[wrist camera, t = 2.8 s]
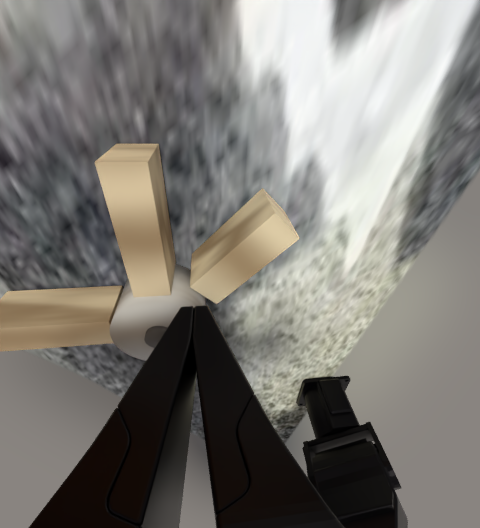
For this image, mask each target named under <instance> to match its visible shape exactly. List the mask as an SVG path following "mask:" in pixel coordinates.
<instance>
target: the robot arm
mask: <svg viewBox="0 0 480 528" xmlns="http://www.w3.org/2000/svg"><path fill="white" fill-rule="evenodd" d="M196 373H197V380H198V388H199V396H200V404H201V412H202V419H203V427H204V435H205V443H206V450H207V458H208V466H209V474H210V481H211V489H212V497H213V505H214V511H215V512H214V513H215V520H216V528H407V525H408V524H407V523H408V522H407V517H406V514H405V512H404V510H403V508H402V506H401V503H400V501H399V499H398V497H397V495H396V492H395V490H397V489H400V488H401V486H400V484H399V481H398V479H397V477H396V475H395V473H394V471H393V468H392V466H391V464H390V462H389V460H388V458H387V456H386V454H385V452H384V450H383V448H382V445H381V443H380V441H379V440H378V437H377V435H376V433H375V431H374V429H373V427H372V425H371V423H370V422H367V423H366V424H364V425H359V423H358V421H357V418H356V416H355V414H354V411H353V409H352V407H351V405H350V402H349V400H348V398H347V395H346V393H345V390H346V388H347V386H348V384H349V382H350V378H349V376H341V377H329V378H319V379H308V380H305V381H304V382H303V385H302V388H301V391H300V394H299V397H298V400H297V404H298V406H306V408H307V411H308V414H309V417H310V421H311V424H312V427H313V430H314V434H315V437H316V439H315V440H311V441H305V442H303V444H304V447H303V452H304V455H305V460H306V464H307V473H308V477H307V476H306V474H305V473H304V472H303V470H302V469H301V467H300V466H299V464H298V463H297V462H296V460H295V459H294V457H293V456H292V454H291V453H290V452H289V450H288V449H287V447H286V446H285V444H284V442H283V441H282V439H281V438H280V436H279V435H278V433H277V432H276V430H275V429H274V427H273V426H272V424H271V422H270V420H269V419H268V417H267V415H266V413H265V412H264V410H263V408H262V406H261V404H260V403H259V401H258V399H257V397H256V395H254V392H253V390H252V388H251V386H250V384H249V382H248V380H247V378H246V377H245V375H244V373H243V371H242V369H241V367H240V365H239V363H238V362H237V360H236V358H235V356H234V354H233V352H232V350H231V348H230V347H229V345H228V343H227V341H226V339H225V337H224V335H223V333H222V331H221V330H220V328H219V326H218V324H217V322H216V320H215V318H214V316H213V315H212V313H211V311H210V309H209V307H208V306H207V305H201V306H195V308H194V307H193V306H185V307H181V308H180V309H179V310H178V312H177V314H176V315H175V317H174V318H173V320H172V321H171V323H170V325H169V326H168V328H167V329H166V331H165V332H164V334H163V335H162V337H161V339H160V340H159V342H158V343H157V345H156V346H155V348H154V350H153V351H152V353H151V354H150V356H149V357H148V359H147V360H146V362H145V364H144V365H143V367H142V368H141V370H140V371H139V373H138V375H137V376H136V378H135V379H134V381H133V382H132V384H131V385H130V387H129V389H128V390H127V392H126V393H125V395H124V396H123V398H122V400H121V401H120V403H119V404H118V408H116V409H115V410H114V412H113V413H112V415H111V416H110V418H109V420H108V421H107V423H106V424H105V426H104V427H103V429H102V430H101V432H100V433H99V435H98V436H97V438H96V439H95V441H94V442H93V444H92V445H91V446H90V448H89V449H88V450H87V452H86V453H85V455H84V456H83V457H82V459H81V460H80V461H79V463H78V464H77V465H76V467H75V468H74V469H73V471H72V472H71V473H70V475H69V476H68V477H67V479H66V480H65V481H64V482H63V484H62V485H61V487H60V488H59V489H58V490H57V492H56V493H55V494H54V495H53V497H52V498H51V499H50V501H49V502H48V503H47V505H46V506H45V507H44V508H43V510H42V511H41V512H40V514H39V515H38V516H37V518H36V519H35V520H34V521H33V523H32V524H31V525H30V527H29V528H179V522H180V514H181V505H182V497H183V488H184V480H185V471H186V462H187V454H188V445H189V436H190V428H191V419H192V411H193V402H194V394H195V385H196ZM372 441H374V442H375V444H373V443H372Z"/></svg>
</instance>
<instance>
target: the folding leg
mask: <svg viewBox="0 0 480 528" xmlns="http://www.w3.org/2000/svg"><path fill="white" fill-rule="evenodd" d="M298 239H300V238H299V236H298V234H297V233H296V231H295V229H294V227H293V226H292V224H291V222H290V220H289V219H288V217H287V215H286V213H285V212H284V210H283V209H282V208H281V207H280V206H279V205H278V204H277V203H276V202H275V201H274V200H273V199H272V198H271V197H270V195H269V194H268V193H267V192H266V191H265V190H264V189H263V188H262V189H261V190H260V191H259V192H258V193H257V194H256V195H255V196H254V197H253V198H251V199H250V200H249V201H248V202H247V203H246V204H245V205H244V206H243V207H242V208H241V209H240V210H239V211H238V212H236V213H235V214H234V215H233V216H232V217H231V218H230V219H229V220H228V221H227V222H226V223H225V224H224V225H223V226H221V227H220V228H219V229H218V230H217V231H216V232H215V233H214V234H213V235H212V236H211V237H210V238H209V239H207V240H206V241H205V242H204V243H203V244H202V245H201V246H200V247H199V248H198V249H197V250H196V251H195V252H194V253H192V261H191V277H190V287H191V288H192V289H194V290H195V291H197V292H198V293H200V294H202V295H203V296H205V297H206V298H208V299H209V300H211V301H212V302H214V303H216V304H218V303H219V302H220V301H221V300H223V299H224V298H225V297H227V296H228V295H229V294H230V293H232V292H233V291H234V290H235V289H237V288H238V287H239V286H240V285H242V284H243V283H244V282H245V281H247V280H248V279H249V278H250V277H252V276H253V275H254V274H256V273H257V272H258V271H259V270H261V269H262V268H263V267H264V266H266V265H267V264H268V263H269V262H271V261H272V260H273V259H274V258H276V257H277V256H278V255H280V254H281V253H282V252H283V251H285V250H286V249H287V248H288V247H290V246H291V245H292V244H293V243H295V242H296V241H297V240H298Z"/></svg>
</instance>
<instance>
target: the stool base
mask: <svg viewBox="0 0 480 528" xmlns="http://www.w3.org/2000/svg"><path fill="white" fill-rule="evenodd" d="M95 165H96V168H97V172H98V175H99V179H100V182H101V186H102V189H103V193H104V196H105V199H106V203H107V206H108V210H109V213H110V217H111V220H112V224H113V227H114V230H115V234H116V237H117V241H118V244H119V248H120V251H121V255H122V258H123V262H124V265H125V268H126V272H127V275H128V279H127V281H126V283H125V286H124V289H123V287H122V286H104V287H85V288H65V289H45V290H25V291H7V292H6V294H5V295H4V296H3V297H2V298H1V299H0V351H13V350H27V349H41V348H54V347H68V346H82V345H96V344H109V343H114V344H115V345H116V346H117V347H118V348H119V349H120V350H121V351H123V352H124V353H126V354H128V355H130V356H132V357H135V358H137V359H141V360H147V359H148V357H149V356H150V354H151V353H152V351H153V350H154V348H155V346H156V345H157V343H158V342H159V340H160V339H161V337H162V335H163V334H164V332H165V331H166V329H167V328H168V326H169V325H170V323H171V321H172V320H173V318H174V317H175V315H176V314H177V312H178V310H179V309H180V308H181V307H185V306H193V307H194V308H195V306H201V305H206V299H205V296H203V295H202V294H200V293H198V292H197V291H195V290H194V289H192V288H191V287H190V277H191V270H189V269H188V268H185V267H183V266H181V265H177V264H175V263H176V260H175V253H174V247H173V240H172V233H171V226H170V219H169V212H168V205H167V198H166V191H165V184H164V177H163V171H162V164H161V157H160V150H159V144H116V145H114V146H113V147H112V148H111V149H110V150H108V151H107V152H106V153H105V154H104V155H103V156H101V157H100V158H99V159H98V160H97V161H95Z"/></svg>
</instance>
